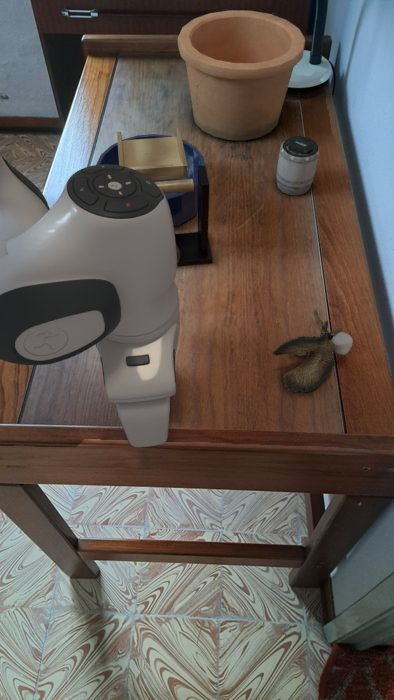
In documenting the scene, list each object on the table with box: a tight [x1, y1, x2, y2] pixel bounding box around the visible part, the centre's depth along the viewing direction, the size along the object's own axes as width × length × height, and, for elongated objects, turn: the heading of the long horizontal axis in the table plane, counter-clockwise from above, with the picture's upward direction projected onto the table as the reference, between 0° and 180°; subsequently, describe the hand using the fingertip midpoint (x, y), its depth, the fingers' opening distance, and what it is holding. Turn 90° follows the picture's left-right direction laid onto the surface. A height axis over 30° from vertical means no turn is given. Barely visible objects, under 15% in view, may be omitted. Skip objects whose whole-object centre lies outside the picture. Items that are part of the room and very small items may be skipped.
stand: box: [175, 166, 213, 267], centre depth 72 cm, size 15×6×14 cm, turn 98°
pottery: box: [177, 9, 306, 142], centre depth 93 cm, size 22×22×14 cm
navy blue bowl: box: [95, 133, 207, 227], centre depth 83 cm, size 17×17×6 cm
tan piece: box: [116, 127, 194, 263], centre depth 67 cm, size 10×25×4 cm, turn 8°
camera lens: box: [276, 135, 321, 196], centre depth 84 cm, size 6×6×8 cm
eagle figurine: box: [272, 308, 354, 394], centre depth 63 cm, size 8×7×9 cm
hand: (146, 389), depth 62 cm, fingers closed on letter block, 4 cm apart
